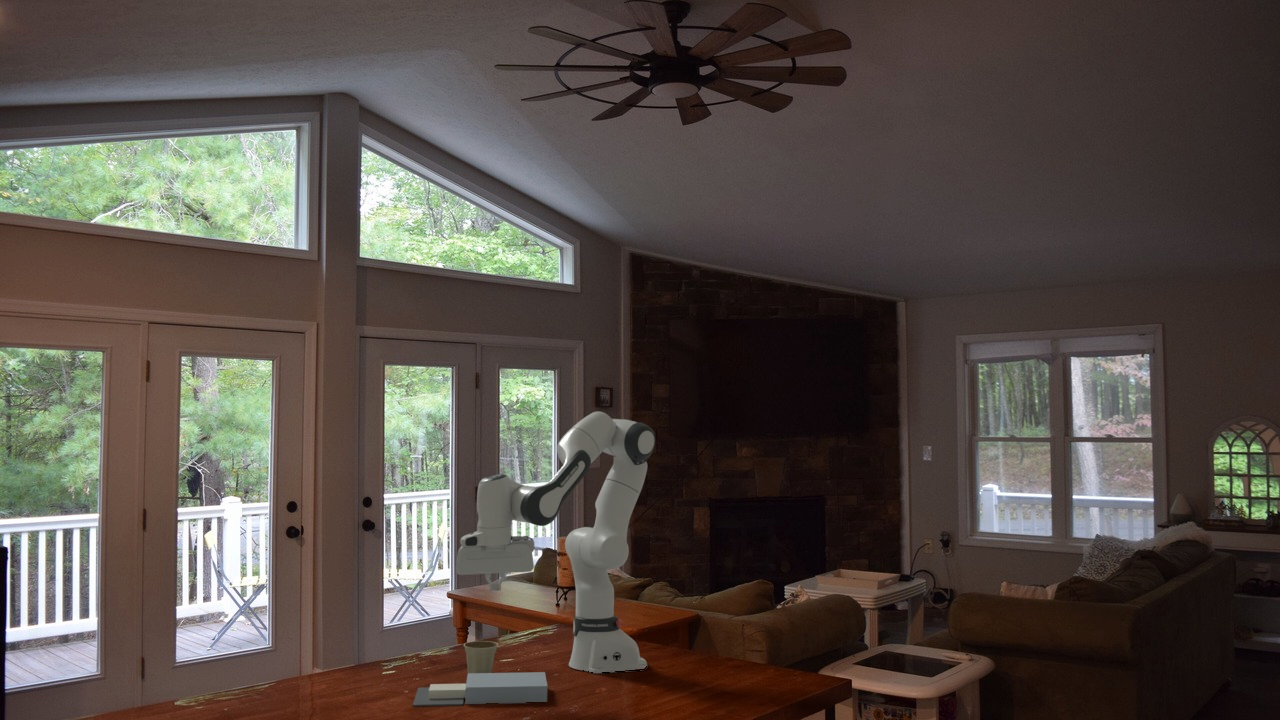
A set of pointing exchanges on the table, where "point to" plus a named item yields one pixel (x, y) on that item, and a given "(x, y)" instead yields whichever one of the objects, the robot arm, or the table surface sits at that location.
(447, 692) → the cream flat block
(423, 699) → the mat
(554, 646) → the table surface
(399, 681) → the table surface
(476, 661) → the flower pot
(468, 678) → the plate
